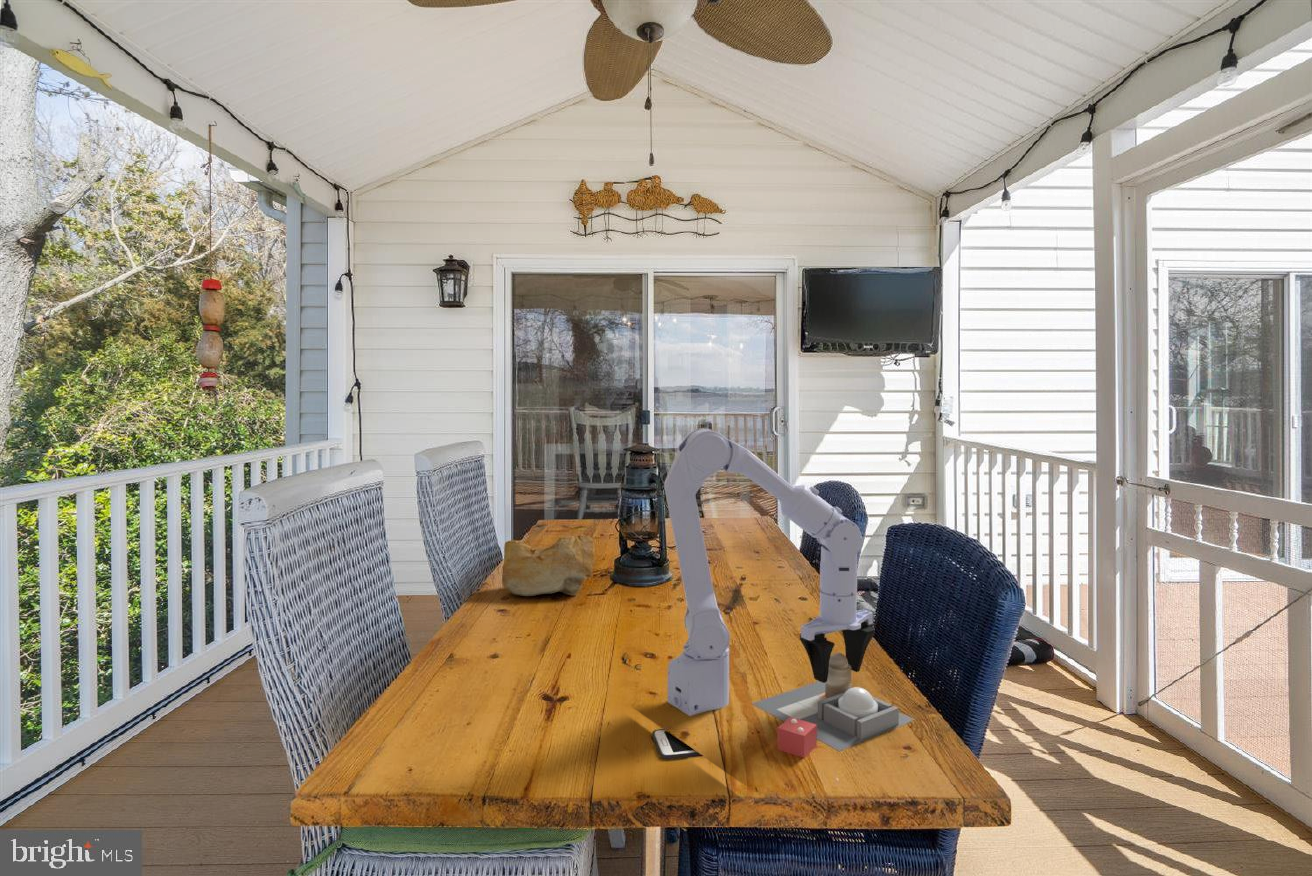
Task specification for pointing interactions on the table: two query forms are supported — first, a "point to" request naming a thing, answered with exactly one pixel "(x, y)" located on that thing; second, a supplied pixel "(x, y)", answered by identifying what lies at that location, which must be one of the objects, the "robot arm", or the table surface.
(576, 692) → the table surface
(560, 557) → the rough brown rock
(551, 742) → the table surface
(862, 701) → the dome
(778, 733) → the red die
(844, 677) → the pawn
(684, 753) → the cell phone
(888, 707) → the game board
